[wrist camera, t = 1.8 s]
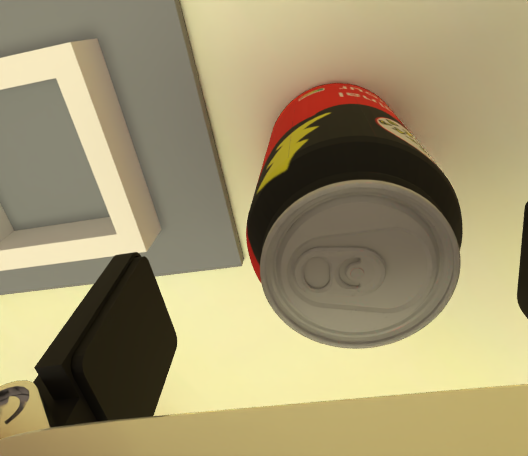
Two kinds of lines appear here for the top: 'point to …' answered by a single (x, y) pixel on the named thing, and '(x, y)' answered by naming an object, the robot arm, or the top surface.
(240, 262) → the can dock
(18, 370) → the top surface
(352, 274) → the beverage can
